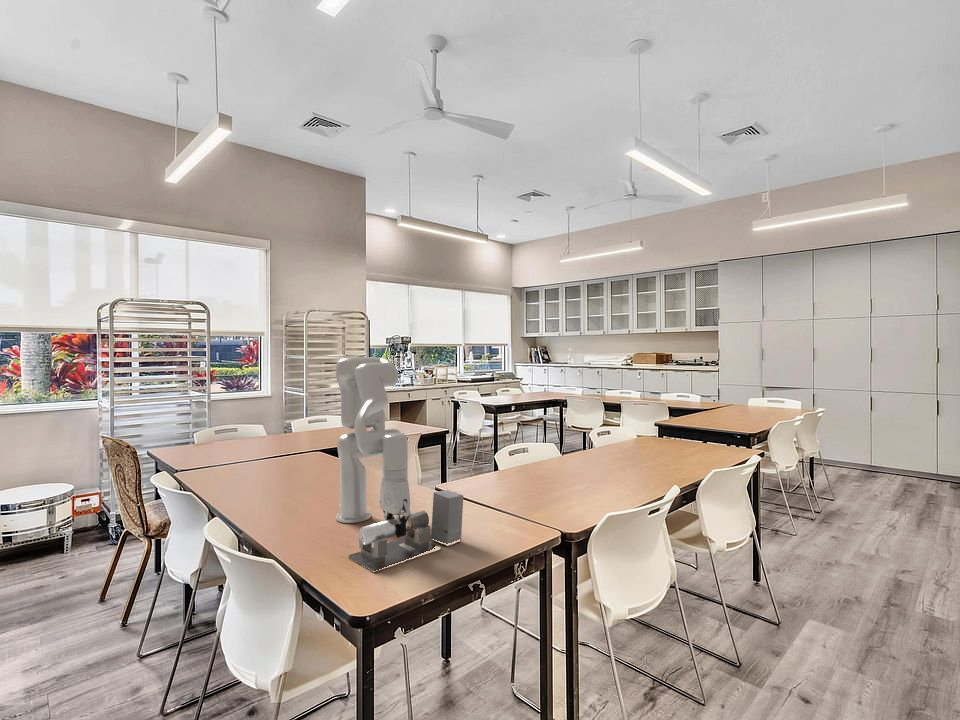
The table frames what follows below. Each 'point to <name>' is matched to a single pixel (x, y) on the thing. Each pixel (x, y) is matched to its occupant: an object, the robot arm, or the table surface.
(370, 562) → the plate with corner blocks
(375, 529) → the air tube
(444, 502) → the skincare box
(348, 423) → the robot arm
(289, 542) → the table surface
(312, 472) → the table surface
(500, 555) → the table surface
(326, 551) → the table surface
